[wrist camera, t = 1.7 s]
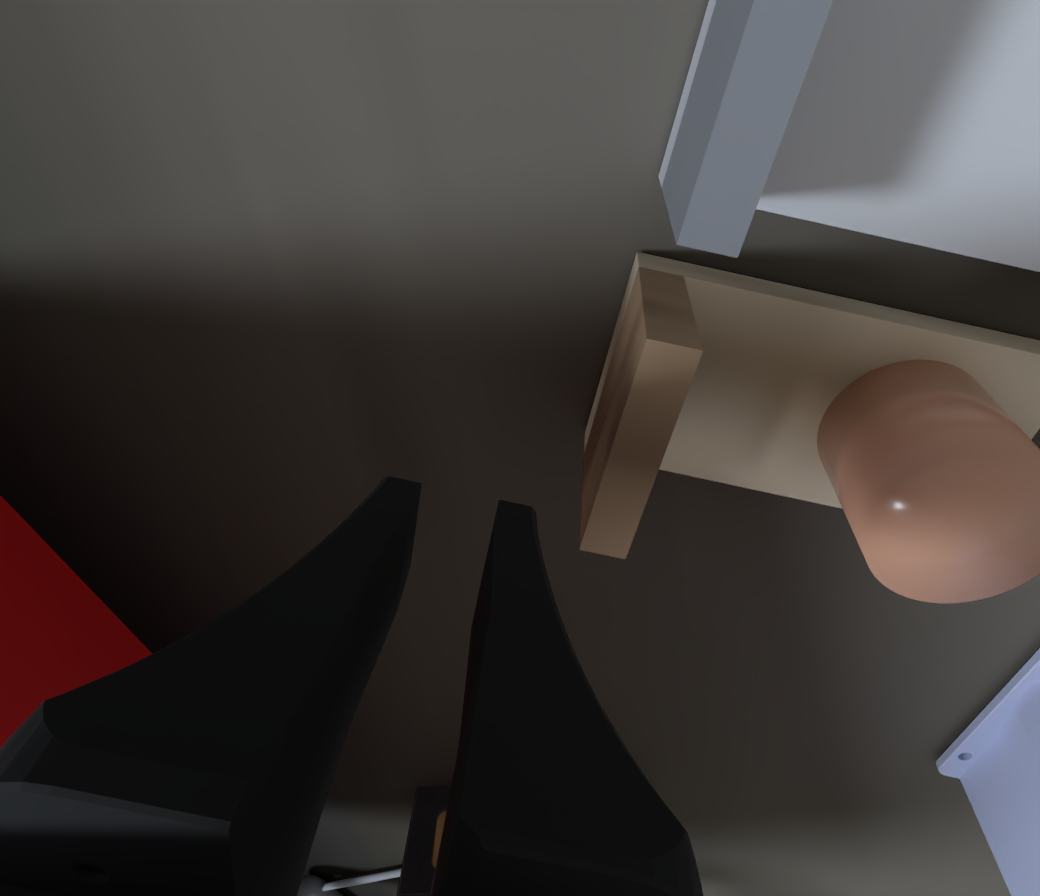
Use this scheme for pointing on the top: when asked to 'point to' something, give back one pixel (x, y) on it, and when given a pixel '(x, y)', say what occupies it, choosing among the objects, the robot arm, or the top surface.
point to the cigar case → (423, 840)
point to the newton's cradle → (339, 883)
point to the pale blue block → (863, 124)
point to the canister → (934, 482)
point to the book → (49, 626)
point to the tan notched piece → (753, 385)
